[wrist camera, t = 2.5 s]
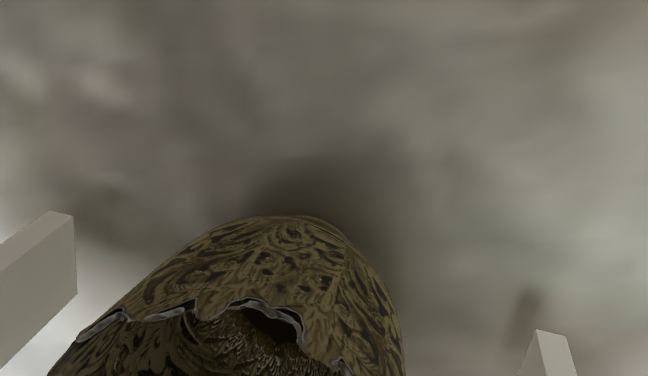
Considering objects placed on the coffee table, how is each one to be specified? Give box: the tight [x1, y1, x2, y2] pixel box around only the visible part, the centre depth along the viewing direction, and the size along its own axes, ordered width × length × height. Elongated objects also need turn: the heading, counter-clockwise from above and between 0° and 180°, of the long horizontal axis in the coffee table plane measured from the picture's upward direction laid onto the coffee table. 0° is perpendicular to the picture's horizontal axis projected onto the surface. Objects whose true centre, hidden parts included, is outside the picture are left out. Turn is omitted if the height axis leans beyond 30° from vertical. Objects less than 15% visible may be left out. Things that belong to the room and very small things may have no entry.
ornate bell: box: [47, 215, 406, 376], centre depth 14 cm, size 8×7×8 cm
